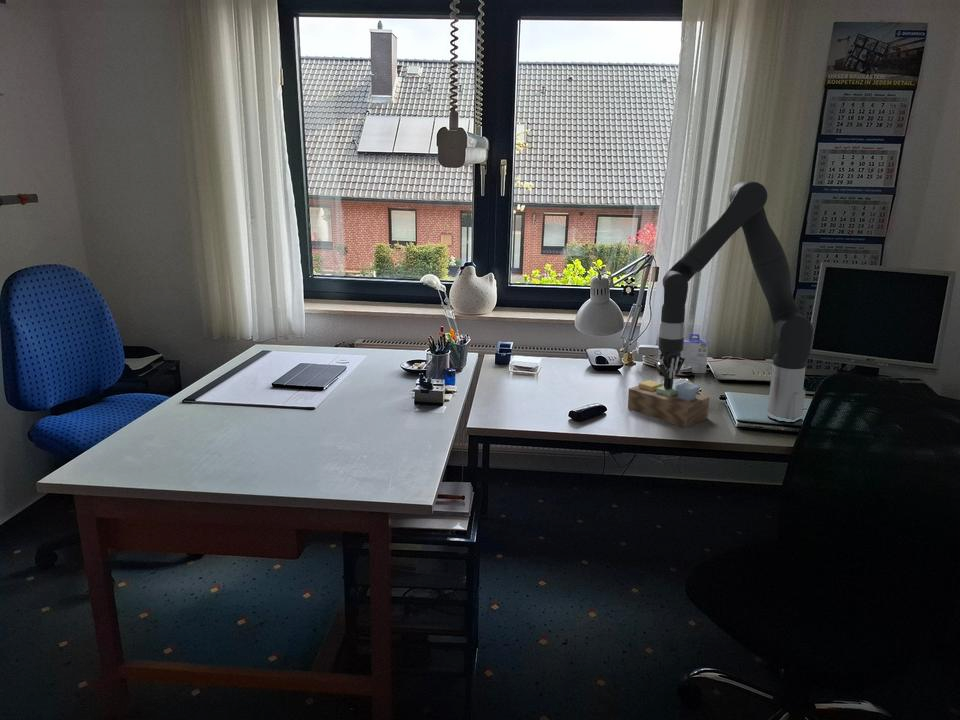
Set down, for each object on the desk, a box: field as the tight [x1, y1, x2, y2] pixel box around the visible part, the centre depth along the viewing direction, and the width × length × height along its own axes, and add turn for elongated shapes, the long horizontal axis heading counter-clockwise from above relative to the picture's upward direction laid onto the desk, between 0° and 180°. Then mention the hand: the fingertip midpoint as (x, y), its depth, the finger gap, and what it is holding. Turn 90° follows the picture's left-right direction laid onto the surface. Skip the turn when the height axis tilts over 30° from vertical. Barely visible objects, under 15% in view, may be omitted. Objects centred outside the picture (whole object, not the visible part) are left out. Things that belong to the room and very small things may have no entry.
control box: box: [627, 383, 710, 428], centre depth 212 cm, size 22×12×7 cm, turn 38°
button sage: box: [656, 386, 679, 396], centre depth 212 cm, size 5×5×7 cm
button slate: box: [675, 382, 701, 402], centre depth 206 cm, size 5×5×7 cm
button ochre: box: [638, 379, 663, 391], centre depth 217 cm, size 5×5×7 cm
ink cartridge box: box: [680, 333, 709, 374], centre depth 255 cm, size 10×6×14 cm, turn 78°
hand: (668, 388), depth 211 cm, fingers closed
